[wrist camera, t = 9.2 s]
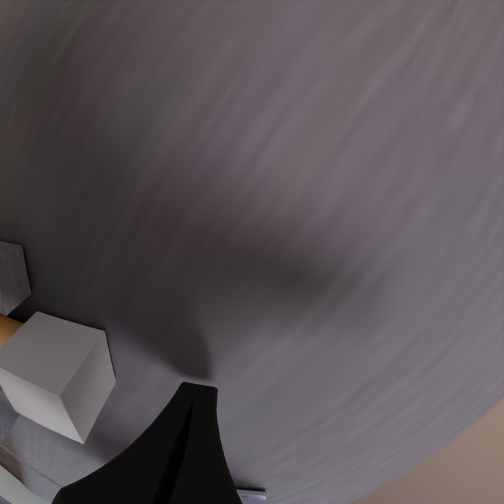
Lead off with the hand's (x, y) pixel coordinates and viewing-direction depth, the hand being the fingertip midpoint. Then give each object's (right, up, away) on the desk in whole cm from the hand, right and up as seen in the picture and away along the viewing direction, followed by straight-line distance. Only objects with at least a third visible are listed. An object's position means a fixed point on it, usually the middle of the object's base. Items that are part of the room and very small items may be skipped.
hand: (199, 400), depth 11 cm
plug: (-14, +2, +1) cm, 14 cm away
